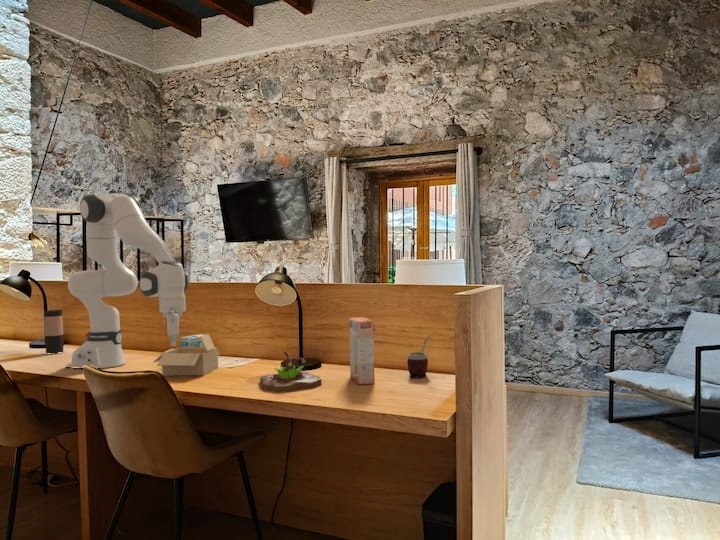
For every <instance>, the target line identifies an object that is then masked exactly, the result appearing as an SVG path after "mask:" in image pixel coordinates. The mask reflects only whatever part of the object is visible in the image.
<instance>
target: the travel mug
mask: <svg viewBox="0 0 720 540" xmlns="http://www.w3.org/2000/svg"><path fill="white" fill-rule="evenodd" d="M43 317H44V318H43V319H44V320H43V321H44V323H43V324H44V325H43V326H44V344H45V353H58V352H63V353H64V324H63V323H64V321H63V309H53V310H50V309H49V310H44V311H43Z"/></svg>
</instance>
